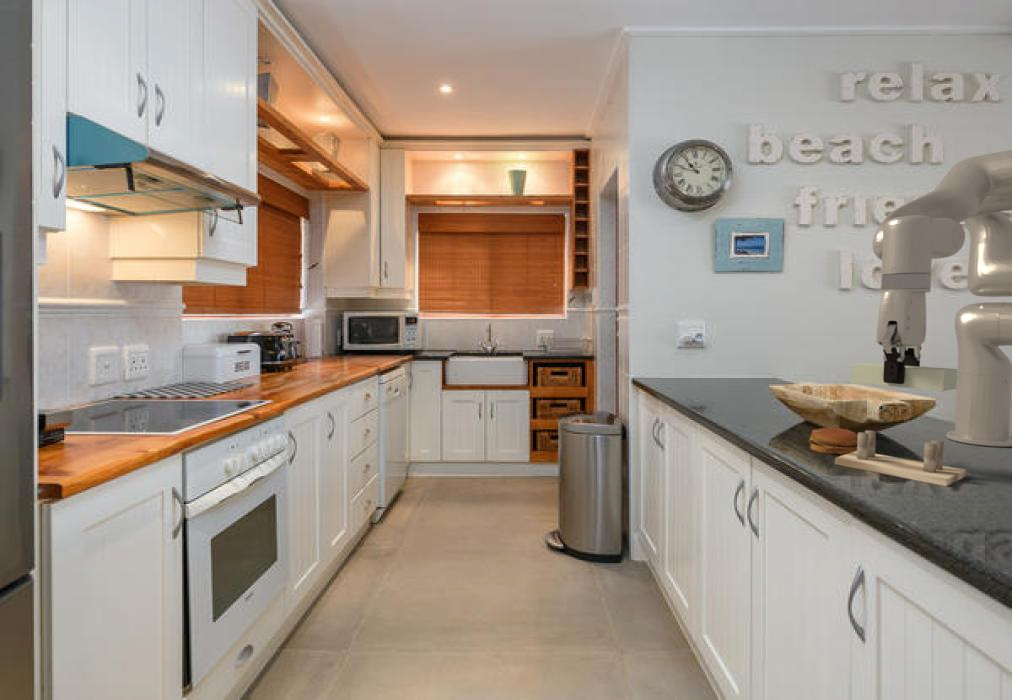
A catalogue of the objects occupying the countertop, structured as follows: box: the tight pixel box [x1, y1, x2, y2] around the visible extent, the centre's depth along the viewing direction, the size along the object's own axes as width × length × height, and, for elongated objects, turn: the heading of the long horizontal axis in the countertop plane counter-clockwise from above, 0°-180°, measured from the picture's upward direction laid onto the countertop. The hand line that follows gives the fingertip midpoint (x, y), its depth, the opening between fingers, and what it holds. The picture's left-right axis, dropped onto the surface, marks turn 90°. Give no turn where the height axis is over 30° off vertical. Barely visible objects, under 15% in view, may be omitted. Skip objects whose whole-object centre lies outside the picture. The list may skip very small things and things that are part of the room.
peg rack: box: [834, 429, 967, 487], centre depth 107 cm, size 10×18×6 cm, turn 36°
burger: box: [808, 427, 858, 456], centre depth 122 cm, size 10×9×5 cm
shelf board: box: [850, 362, 958, 392], centre depth 106 cm, size 6×15×4 cm, turn 34°
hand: (901, 381), depth 106 cm, fingers closed on shelf board, 6 cm apart
